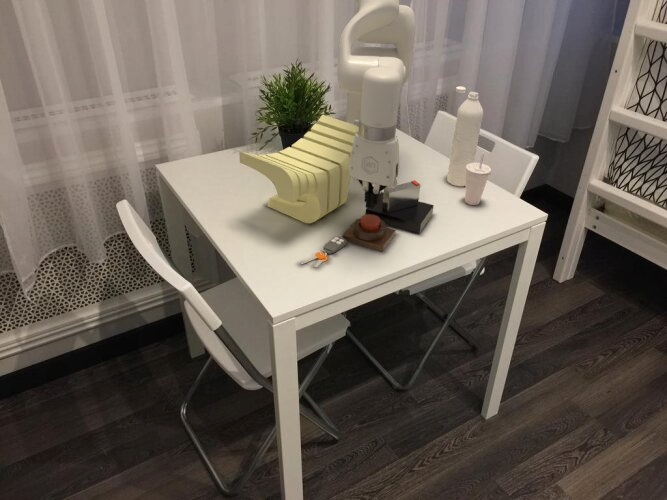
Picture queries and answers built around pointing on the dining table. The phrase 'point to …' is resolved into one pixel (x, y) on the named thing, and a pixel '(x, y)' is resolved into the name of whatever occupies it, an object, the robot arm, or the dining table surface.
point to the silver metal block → (401, 196)
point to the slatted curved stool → (309, 170)
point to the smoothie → (476, 181)
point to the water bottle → (465, 138)
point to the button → (370, 222)
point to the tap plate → (404, 216)
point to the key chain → (328, 249)
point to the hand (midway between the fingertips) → (371, 205)
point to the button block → (369, 236)
